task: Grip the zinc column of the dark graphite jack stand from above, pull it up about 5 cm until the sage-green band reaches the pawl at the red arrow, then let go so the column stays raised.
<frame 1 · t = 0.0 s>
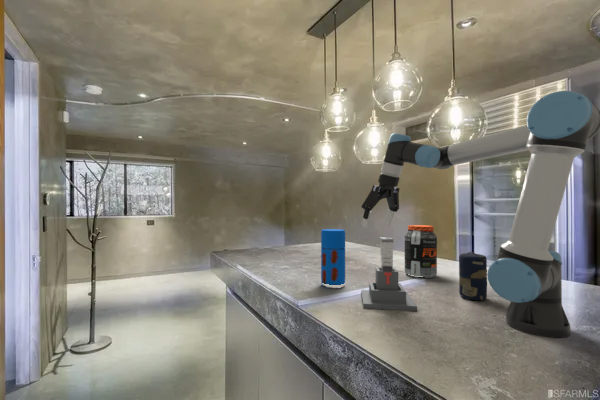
hand: (375, 226, 122), 28 cm above the counter, tool tilted 20°, fingers open, 13 cm apart
supplement tub: (420, 275, 159), on the counter
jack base: (386, 301, 115), on the counter
canister: (472, 298, 119), on the counter
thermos: (333, 285, 138), on the counter
column: (386, 267, 115), point 13 cm above the counter, slide at 0.0 cm
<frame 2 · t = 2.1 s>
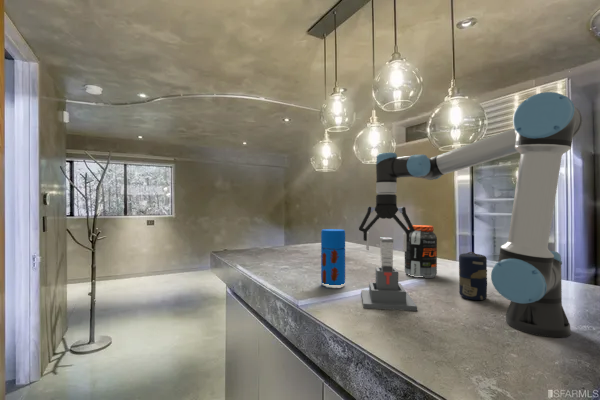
hand: (385, 250, 115), 19 cm above the counter, tool pointing down, fingers open, 13 cm apart
nothing on the counter moved.
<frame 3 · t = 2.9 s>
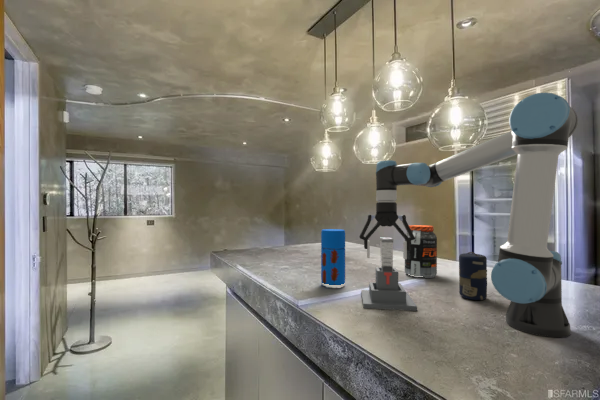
hand: (386, 258, 115), 16 cm above the counter, tool pointing down, fingers open, 13 cm apart
nothing on the counter moved.
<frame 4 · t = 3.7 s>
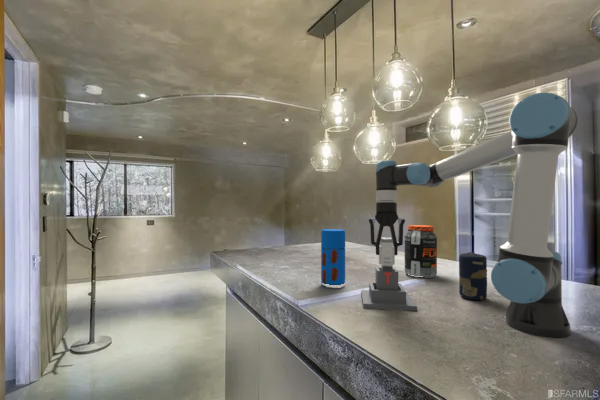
hand: (386, 263, 115), 14 cm above the counter, tool pointing down, fingers closed on column, 4 cm apart
column: (386, 267, 115), point 13 cm above the counter, slide at 0.0 cm, touching gripper
everything else where it was.
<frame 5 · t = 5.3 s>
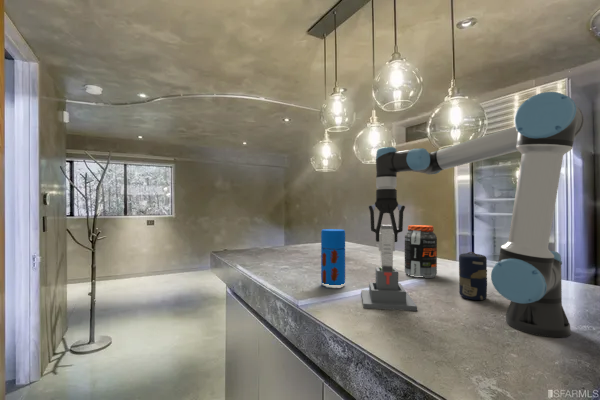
hand: (386, 250, 115), 19 cm above the counter, tool pointing down, fingers closed on column, 4 cm apart
column: (386, 254, 115), point 18 cm above the counter, slide at 4.9 cm, touching gripper
everything else where it was.
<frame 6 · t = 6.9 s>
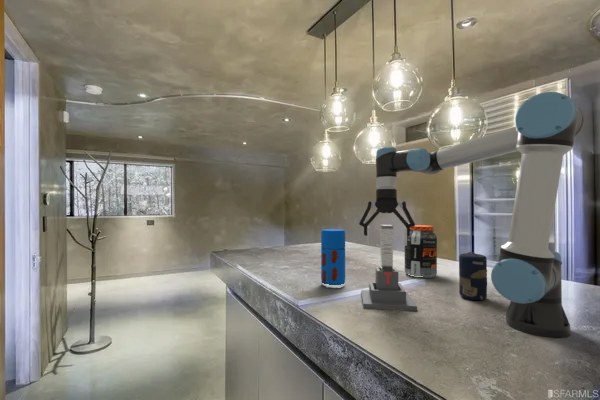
hand: (386, 244, 115), 21 cm above the counter, tool pointing down, fingers open, 13 cm apart
column: (386, 254, 115), point 18 cm above the counter, slide at 5.0 cm
everything else where it was.
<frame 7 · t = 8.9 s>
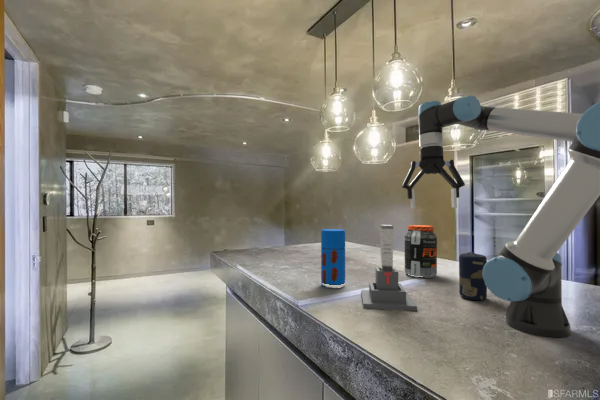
hand: (433, 208, 105), 35 cm above the counter, tool pointing down, fingers open, 13 cm apart
nothing on the counter moved.
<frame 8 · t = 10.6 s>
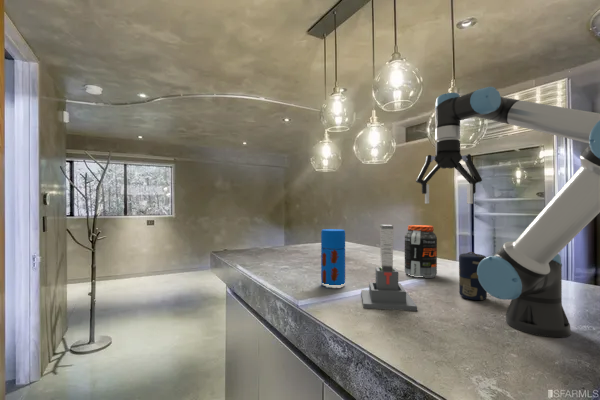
hand: (448, 203, 103), 37 cm above the counter, tool pointing down, fingers open, 13 cm apart
nothing on the counter moved.
at the end: column slide at 5.0 cm; the gripper is holding nothing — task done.
